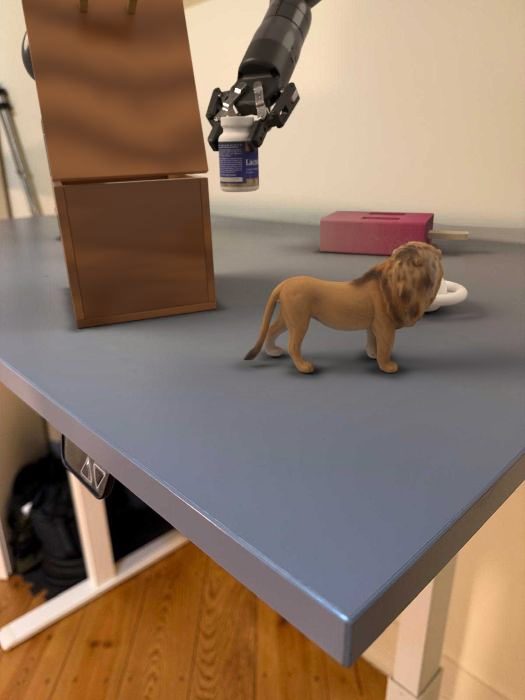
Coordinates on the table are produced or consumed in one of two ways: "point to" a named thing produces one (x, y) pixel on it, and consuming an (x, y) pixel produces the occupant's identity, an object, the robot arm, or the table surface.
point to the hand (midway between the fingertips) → (231, 146)
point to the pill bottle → (237, 156)
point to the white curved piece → (448, 295)
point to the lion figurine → (356, 304)
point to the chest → (136, 247)
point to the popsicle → (378, 231)
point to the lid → (115, 88)
